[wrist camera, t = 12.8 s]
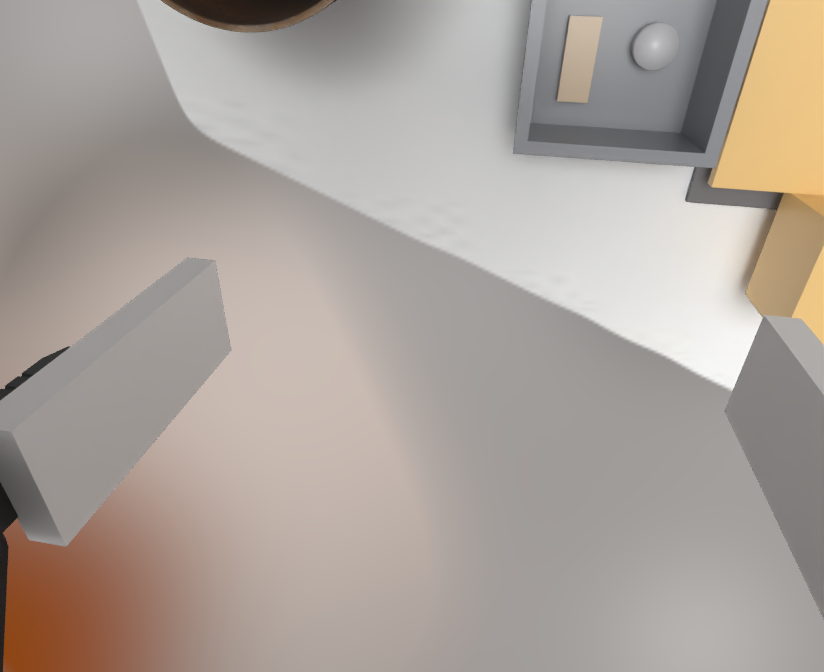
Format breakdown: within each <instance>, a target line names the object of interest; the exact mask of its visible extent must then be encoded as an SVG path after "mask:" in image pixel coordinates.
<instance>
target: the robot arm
mask: <svg viewBox="0 0 824 672" xmlns="http://www.w3.org/2000/svg"><path fill="white" fill-rule="evenodd" d="M230 351H231V346H230V340H229V335H228V330H227V324H226V318H225V312H224V307H223V301H222V296H221V290H220V285H219V279H218V274H217V268H216V263H215V261H214V260H206V259H196V258H186V259H185V260H184V261H182V262H181V263H180V264H179V265H177V266H176V267H175V268H173V269H172V270H171V271H169V272H168V273H167V274H165V275H164V276H163V277H161V278H160V279H159V280H158V281H156V282H155V283H154V284H152V285H151V286H150V287H148V288H147V289H146V290H145V291H143V292H142V293H141V294H139V295H138V296H137V297H135V298H134V299H133V300H131V301H130V302H129V303H128V304H126V305H125V306H123V307H122V308H121V309H120V310H118V311H117V312H116V313H115V314H113V315H112V316H110V317H109V318H108V319H107V320H105V321H104V322H103V323H101V324H100V325H99V326H97V327H96V328H95V329H93V330H92V331H91V332H90V333H88V334H87V335H85V336H84V337H83V338H82V339H80V340H79V341H78V342H76V343H75V344H74V345H72V346H71V347H66V348H64V349H62V350H59V351H57V352H55V353H53V354H51V355H49V356H46V357H44V358H42V359H41V360H39V361H38V362H37V363H35V364H34V365H33V366H31V367H30V368H28V370H26V371H24V372H23V373H22V376H21V377H17V378H15V379H14V380H13V381H11V382H10V383H8V384H7V385H6V386H5V389H0V672H3V655H4V632H5V631H4V630H5V611H6V588H7V586H6V585H7V566H8V545H7V541H6V538H5V536H4V534H3V532H4V531H5V530H6V529H7V528H8V526H10V525H11V524H12V523H13V522H14V520H15V519H16V518H18V520H19V522H20V524H21V526H22V528H23V530H24V532H25V533H26V535H27V537H28V539H29V540H33V541H39V542H44V543H50V544H55V545H60V546H67V545H68V544H69V543H70V542H71V540H72V539H73V538H74V537H75V536H76V534H77V533H78V532H79V531H80V530H81V528H82V527H83V526H84V525H85V524H86V523H87V521H88V520H89V519H90V518H91V517H92V515H93V514H94V513H95V512H96V511H97V509H98V508H99V507H100V506H101V505H102V503H103V502H104V501H105V500H106V499H107V498H108V496H109V495H110V494H111V493H112V492H113V490H114V489H115V488H116V487H117V485H118V484H119V483H120V482H121V481H122V480H123V479H124V477H125V476H126V475H127V474H128V473H129V471H130V470H131V469H132V468H133V467H134V465H135V464H136V463H137V462H138V461H139V459H140V458H141V457H142V456H143V455H144V454H145V452H146V451H147V450H148V449H149V447H150V446H151V445H152V444H153V443H154V442H155V440H156V439H157V438H158V437H159V436H160V434H161V433H162V432H163V431H164V430H165V429H166V427H167V426H168V425H169V424H170V423H171V421H172V420H173V419H174V418H175V417H176V415H177V414H178V413H179V412H180V411H181V409H182V408H183V407H184V406H185V405H186V403H187V402H188V401H189V400H190V399H191V398H192V396H193V395H194V394H195V393H196V392H197V390H198V389H199V388H200V387H201V386H202V385H203V383H204V382H205V381H206V380H207V379H208V377H209V376H210V375H211V374H212V373H213V371H214V370H215V369H216V368H217V367H218V365H219V364H220V363H221V362H222V361H223V360H224V358H225V357H226V356H227V355H228V354H229V352H230ZM725 413H726V415H727V417H728V419H729V422H730V423H731V426H732V428H733V430H734V432H735V434H736V436H737V438H738V440H739V443H740V445H741V447H742V449H743V451H744V453H745V455H746V457H747V459H748V461H749V464H750V466H751V468H752V470H753V472H754V474H755V476H756V478H757V480H758V483H759V485H760V487H761V488H762V491H763V493H764V495H765V497H766V499H767V501H768V504H769V506H770V507H771V510H772V512H773V514H774V516H775V518H776V520H777V522H778V524H779V526H780V529H781V531H782V533H783V535H784V537H785V539H786V541H787V543H788V546H789V547H790V550H791V552H792V554H793V556H794V558H795V560H796V562H797V564H798V567H799V569H800V571H801V573H802V575H803V577H804V579H805V581H806V583H807V585H808V588H809V590H810V592H811V594H812V596H813V598H814V600H815V602H816V604H817V606H818V608H819V611H820V613H821V615H822V617H823V619H824V345H823V344H822V342H821V341H820V340H819V339H818V338H817V337H816V335H815V334H814V333H813V332H812V331H811V330H810V328H809V327H808V326H807V325H806V324H805V322H804V321H803V320H802V319H799V318H789V317H779V316H769V315H764V317H763V319H762V321H761V324H760V326H759V329H758V331H757V334H756V336H755V338H754V341H753V343H752V346H751V348H750V350H749V353H748V355H747V358H746V360H745V362H744V365H743V367H742V370H741V372H740V375H739V377H738V379H737V382H736V384H735V387H734V389H733V391H732V394H731V396H730V399H729V401H728V404H727V406H726V408H725Z"/></svg>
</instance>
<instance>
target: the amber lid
mask: <svg viewBox="0 0 824 672" xmlns="http://www.w3.org/2000/svg"><path fill="white" fill-rule="evenodd" d="M708 184H709V185H710V186H711V187H715V188H729V189H742V190H755V191H769V192H782V193H784V194H783V197H782V199H781V202H780V204H779V207H778V210H777V212H776V215H775V217H774V220H773V223H772V225H771V228H770V230H769V233H768V235H767V238H766V241H765V243H764V246H763V248H762V251H761V254H760V256H759V259H758V261H757V264H756V267H755V269H754V272H753V274H752V277H751V280H750V282H749V285H748V287H747V290H746V293H745V295H746V296H747V297H748V299H749V300H750V301H751V303H752V304H753V305H754V307H755V308H756V309H757V311H758V312H759V313H760V315H761V316H762V317H764V315H769V316H779V317H789V318H799V319H802V320H803V321H804V322H805V324H806V325H807V326H808V327H809V328H810V330H811V331H812V332H813V333H814V334H815V335H816V337H817V338H818V339H819V340H820V341H821V342H822V344H823V345H824V0H768V1H767V4H766V8H765V11H764V14H763V17H762V20H761V24H760V27H759V30H758V33H757V36H756V39H755V43H754V46H753V49H752V52H751V55H750V58H749V62H748V65H747V68H746V71H745V74H744V78H743V81H742V84H741V87H740V90H739V93H738V97H737V100H736V103H735V106H734V109H733V113H732V116H731V119H730V122H729V125H728V128H727V132H726V135H725V138H724V141H723V144H722V148H721V151H720V154H719V157H718V160H717V163H716V167H715V168H712V171H711V174H710V177H709V180H708Z"/></svg>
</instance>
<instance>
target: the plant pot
mask: <svg viewBox="0 0 824 672" xmlns="http://www.w3.org/2000/svg"><path fill="white" fill-rule="evenodd" d="M161 1H162V2H164V3H165V4H167V5H168V6H170V7H171V8H173V9H175V10H176V11H178V12H180V13H181V14H183V15H185V16H187V17H189V18H191V19H193V20H196V21H198V22H201V23H203V24H206V25H209V26H212V27H216V28H220V29H224V30H229V31H236V32H266V31H272V30H277V29H282V28H285V27H288V26H291V25H294V24H297V23H299V22H302V21H304V20H306V19H307V18H309V17H311V16H313V15H315V14H316V13H318V12H320V11H321V10H323V9H325V8H326V7H328V6H329V5H330V4H332V3H333V2H335V1H336V0H161Z"/></svg>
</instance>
